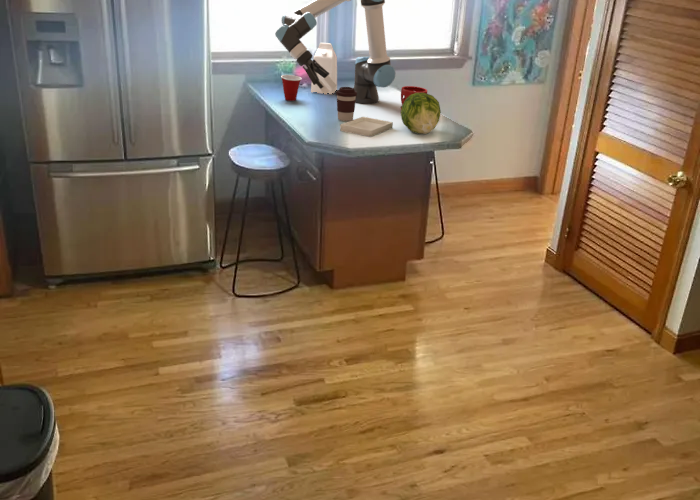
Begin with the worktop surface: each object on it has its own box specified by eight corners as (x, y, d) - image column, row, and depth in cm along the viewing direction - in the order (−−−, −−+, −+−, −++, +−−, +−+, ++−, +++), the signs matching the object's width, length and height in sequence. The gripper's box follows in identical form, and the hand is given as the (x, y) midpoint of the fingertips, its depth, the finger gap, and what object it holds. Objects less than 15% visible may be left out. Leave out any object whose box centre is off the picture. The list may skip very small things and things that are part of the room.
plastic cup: (298, 102, 375) (298, 79, 370) (278, 100, 376) (278, 77, 372) (303, 98, 384) (304, 75, 379) (284, 96, 386) (284, 73, 381)
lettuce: (403, 121, 315) (440, 98, 313) (388, 100, 334) (423, 77, 332) (421, 151, 326) (456, 129, 324) (405, 129, 345) (439, 108, 342)
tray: (362, 122, 343) (362, 116, 342) (392, 128, 336) (392, 122, 335) (340, 130, 328) (340, 124, 326) (370, 136, 320) (371, 130, 319)
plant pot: (403, 115, 361) (405, 91, 356) (396, 109, 372) (398, 85, 368) (428, 115, 364) (431, 91, 359) (420, 109, 375) (422, 85, 370)
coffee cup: (358, 118, 350) (360, 87, 344) (351, 123, 341) (353, 91, 335) (339, 116, 352) (340, 85, 346) (332, 120, 344) (333, 88, 338)
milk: (337, 90, 408) (339, 42, 397) (331, 94, 397) (333, 45, 387) (316, 88, 410) (317, 41, 399) (310, 92, 400) (312, 43, 389)
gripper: (303, 56, 352) (332, 90, 355) (287, 64, 329) (318, 100, 333) (314, 46, 349) (343, 80, 352) (299, 53, 326) (329, 90, 329)
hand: (331, 90), depth 342 cm, fingers open, 13 cm apart
